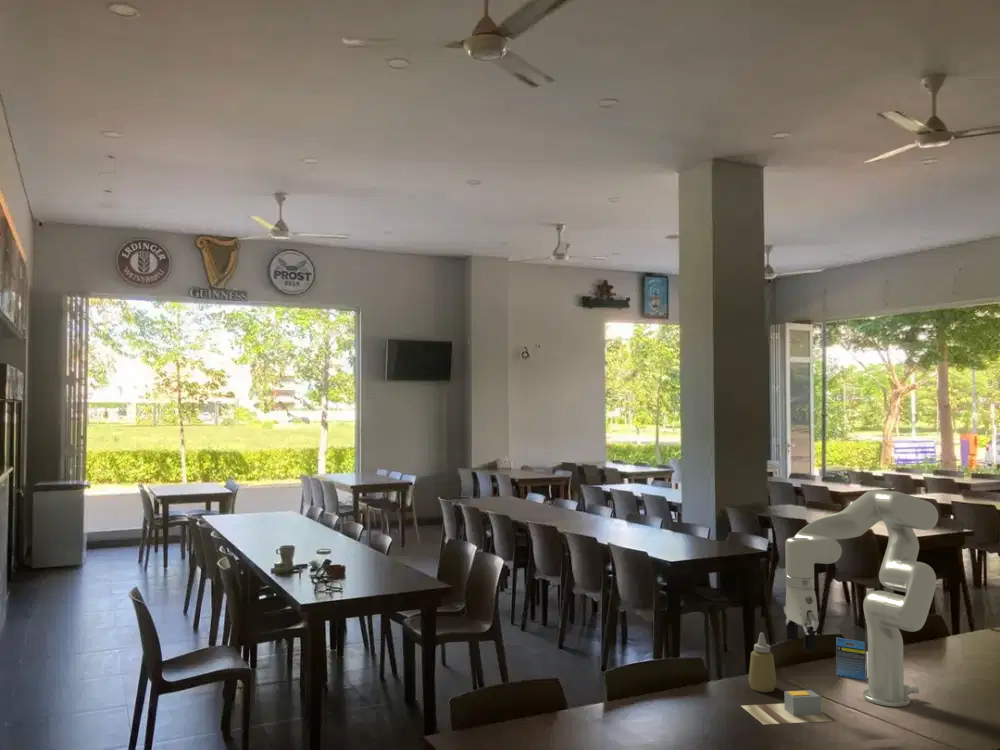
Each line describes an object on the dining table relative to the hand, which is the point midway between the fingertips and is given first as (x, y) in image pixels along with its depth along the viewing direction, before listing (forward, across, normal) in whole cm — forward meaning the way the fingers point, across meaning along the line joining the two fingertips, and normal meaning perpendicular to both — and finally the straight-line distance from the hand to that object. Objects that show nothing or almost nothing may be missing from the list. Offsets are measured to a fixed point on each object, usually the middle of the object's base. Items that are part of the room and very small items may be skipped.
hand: (800, 644), depth 225 cm
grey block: (+19, 0, 0) cm, 19 cm away
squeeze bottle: (+20, +20, +2) cm, 29 cm away
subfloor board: (+20, 0, +5) cm, 21 cm away
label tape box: (+20, +31, -34) cm, 50 cm away
